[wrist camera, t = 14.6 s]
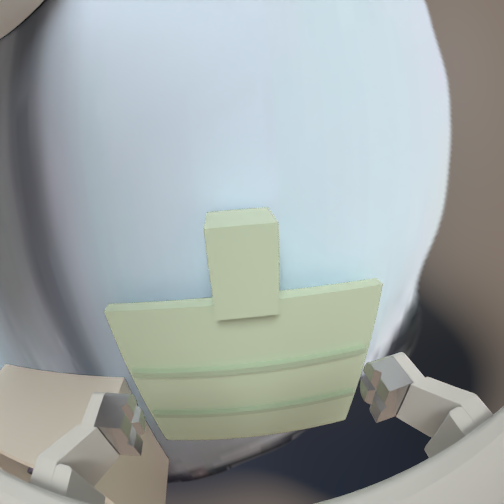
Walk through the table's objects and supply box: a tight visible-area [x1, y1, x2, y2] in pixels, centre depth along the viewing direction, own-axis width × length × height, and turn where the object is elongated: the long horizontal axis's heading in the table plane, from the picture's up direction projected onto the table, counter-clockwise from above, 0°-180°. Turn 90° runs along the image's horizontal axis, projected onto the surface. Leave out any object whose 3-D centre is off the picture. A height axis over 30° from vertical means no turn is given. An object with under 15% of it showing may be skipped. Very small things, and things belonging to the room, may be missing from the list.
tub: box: [0, 364, 169, 504], centre depth 18 cm, size 16×18×12 cm
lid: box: [104, 207, 383, 440], centre depth 21 cm, size 24×20×4 cm
